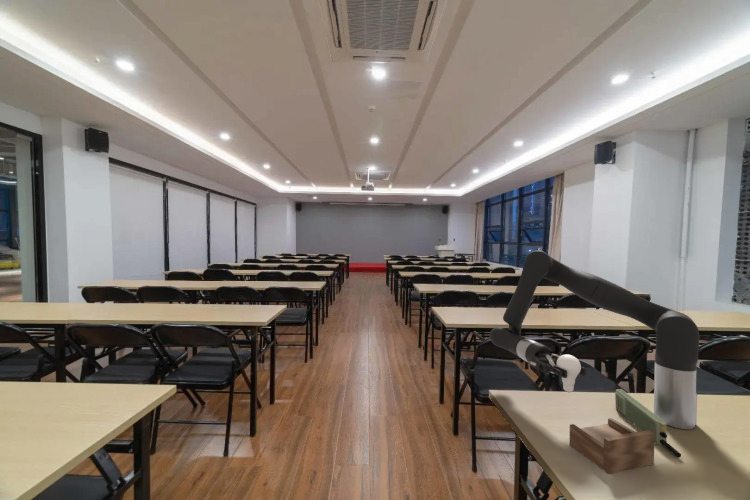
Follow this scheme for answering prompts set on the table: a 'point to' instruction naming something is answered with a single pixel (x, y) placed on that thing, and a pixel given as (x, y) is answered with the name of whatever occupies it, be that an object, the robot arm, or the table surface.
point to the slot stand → (614, 446)
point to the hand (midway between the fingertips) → (575, 373)
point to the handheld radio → (643, 418)
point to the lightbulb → (569, 370)
